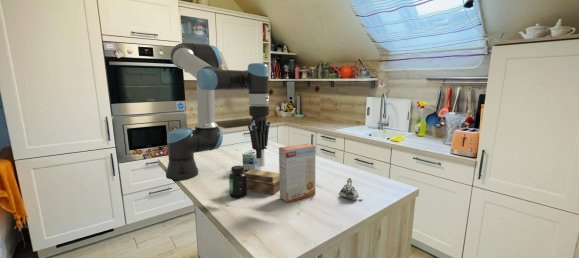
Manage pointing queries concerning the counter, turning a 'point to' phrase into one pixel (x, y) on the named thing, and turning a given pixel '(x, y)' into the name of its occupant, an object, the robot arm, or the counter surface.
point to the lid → (262, 176)
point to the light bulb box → (250, 161)
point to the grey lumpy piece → (349, 191)
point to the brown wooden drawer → (263, 187)
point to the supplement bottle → (238, 182)
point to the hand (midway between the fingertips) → (260, 165)
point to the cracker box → (297, 172)
